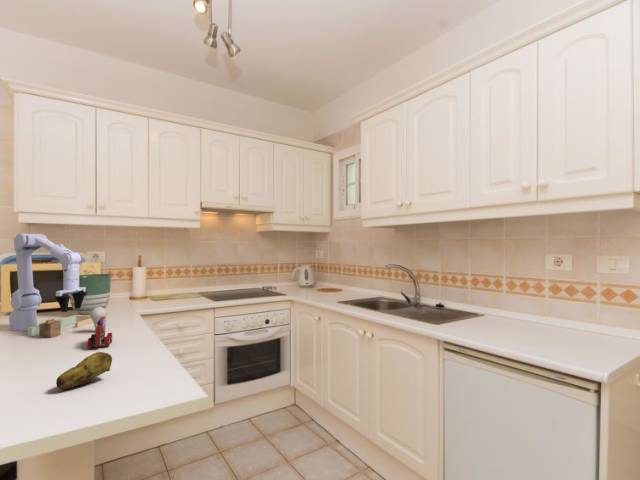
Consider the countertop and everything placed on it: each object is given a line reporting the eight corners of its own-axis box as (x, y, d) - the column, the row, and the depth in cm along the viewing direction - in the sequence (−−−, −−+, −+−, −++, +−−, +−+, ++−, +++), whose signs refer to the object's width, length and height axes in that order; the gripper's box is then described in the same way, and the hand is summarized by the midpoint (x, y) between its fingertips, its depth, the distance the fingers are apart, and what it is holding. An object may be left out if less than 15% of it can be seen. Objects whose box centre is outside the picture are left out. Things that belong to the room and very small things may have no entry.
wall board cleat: (27, 336, 145) (27, 327, 145) (74, 322, 171) (74, 315, 171) (50, 336, 145) (50, 328, 145) (94, 322, 170) (94, 315, 170)
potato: (58, 383, 96) (58, 355, 96) (111, 374, 103) (111, 347, 103) (55, 395, 89) (55, 364, 89) (112, 383, 96) (112, 355, 96)
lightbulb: (98, 334, 148) (98, 308, 148) (86, 333, 149) (86, 308, 149) (109, 330, 154) (109, 306, 154) (98, 330, 155) (98, 305, 155)
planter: (84, 319, 176) (84, 278, 176) (60, 316, 183) (60, 276, 183) (119, 312, 194) (119, 274, 194) (95, 310, 201) (95, 273, 201)
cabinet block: (39, 338, 142) (39, 321, 142) (49, 335, 147) (49, 318, 147) (50, 338, 142) (50, 321, 142) (60, 335, 147) (60, 318, 147)
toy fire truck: (85, 351, 124) (85, 323, 124) (93, 342, 136) (93, 316, 136) (108, 349, 127) (108, 321, 127) (113, 340, 139) (113, 314, 139)
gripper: (67, 281, 144) (67, 313, 144) (91, 277, 159) (91, 306, 159) (51, 281, 145) (51, 313, 145) (77, 277, 159) (77, 306, 159)
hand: (71, 310), depth 152 cm, fingers open, 7 cm apart
